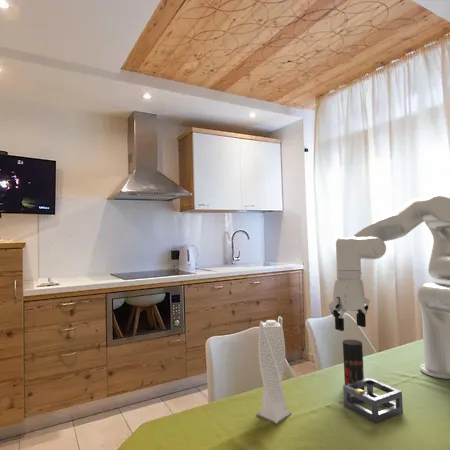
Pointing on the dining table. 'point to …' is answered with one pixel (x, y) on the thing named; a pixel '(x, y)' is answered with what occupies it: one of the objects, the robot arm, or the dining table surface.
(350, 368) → the deodorant
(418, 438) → the dining table surface
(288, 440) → the dining table surface
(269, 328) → the skyscraper
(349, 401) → the grey open cube frame
